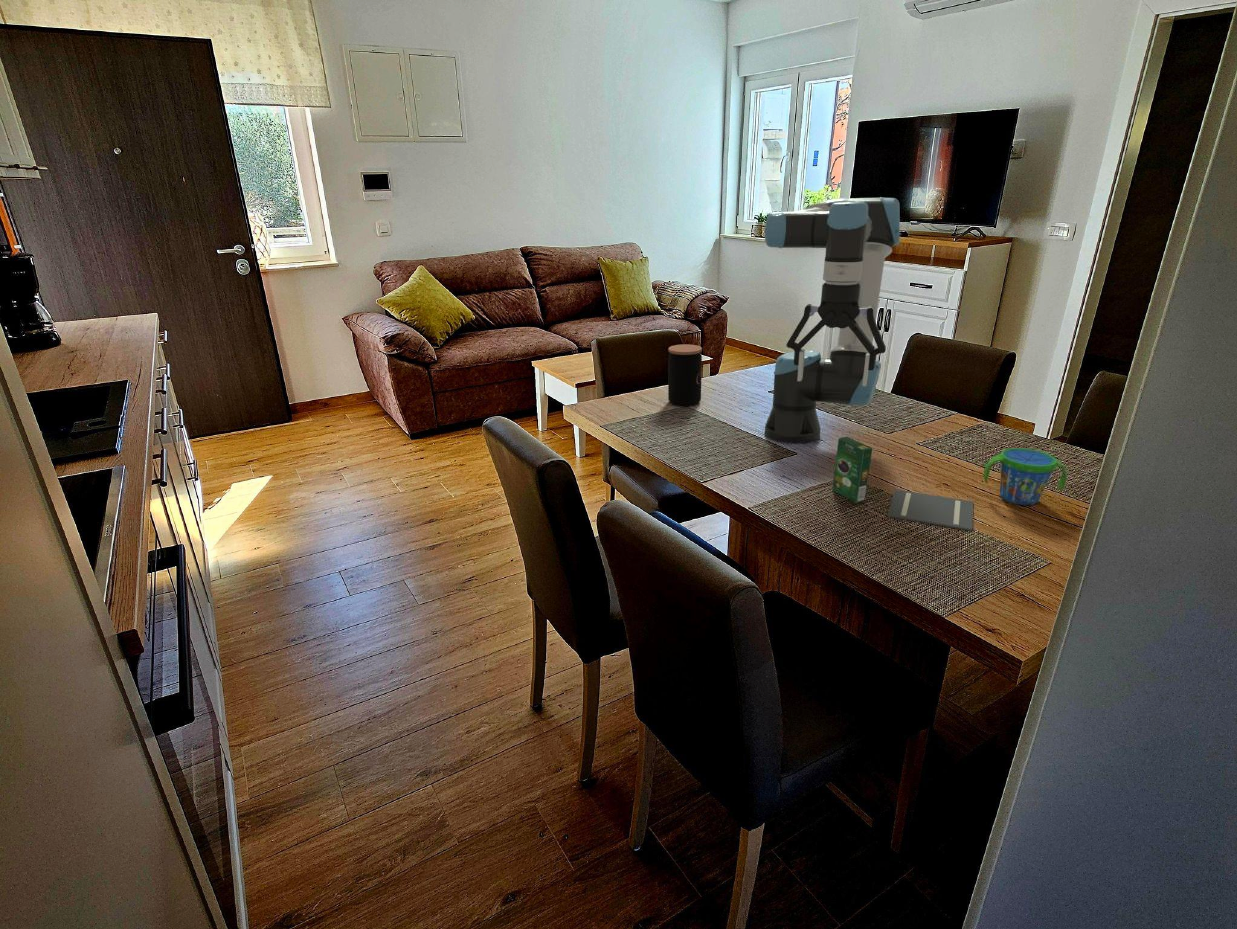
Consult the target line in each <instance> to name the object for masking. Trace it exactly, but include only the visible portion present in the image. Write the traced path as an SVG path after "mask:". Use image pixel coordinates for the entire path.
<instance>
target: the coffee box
mask: <svg viewBox="0 0 1237 929" xmlns="http://www.w3.org/2000/svg"><path fill="white" fill-rule="evenodd" d="M836 448H837V450H836V455H835V456H836V458H835V465H834V472H833V481H832V482H833V483H832V492H835V493H836V494H837V495H839V496H842V497H844V498H846V500H849V501H850V502H852V503H855V504H859V503H863V502H865V500H866V493H867V487H868V481H869V480H868V479H869V474H870V466H871V459H872V453H873V447H870V446H869V445H866V444H864V443H862V442H860V441H857V440H856V439H855V438H854V439H853V438H851V437H849V436H843V437H839V438H838V441H837V447H836Z"/></svg>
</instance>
